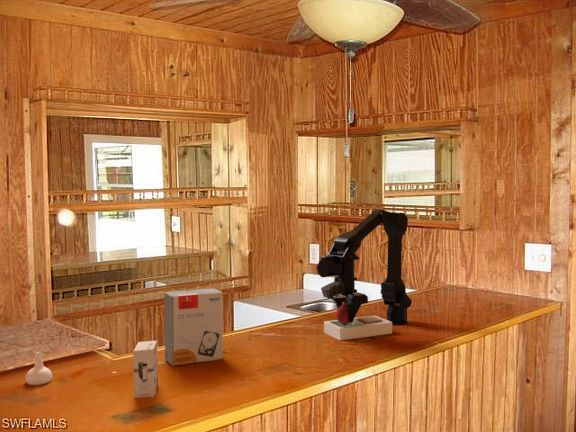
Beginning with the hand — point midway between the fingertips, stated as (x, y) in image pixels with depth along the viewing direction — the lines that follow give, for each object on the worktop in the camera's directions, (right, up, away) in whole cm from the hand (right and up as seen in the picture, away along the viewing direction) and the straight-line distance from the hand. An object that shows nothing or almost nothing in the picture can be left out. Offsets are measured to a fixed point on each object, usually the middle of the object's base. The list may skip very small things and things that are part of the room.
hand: (346, 320), depth 204 cm
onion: (0, -2, 0) cm, 2 cm away
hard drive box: (-47, -7, -26) cm, 54 cm away
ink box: (-54, -9, -53) cm, 76 cm away
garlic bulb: (-84, -9, -44) cm, 96 cm away
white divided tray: (+4, -5, +2) cm, 7 cm away
